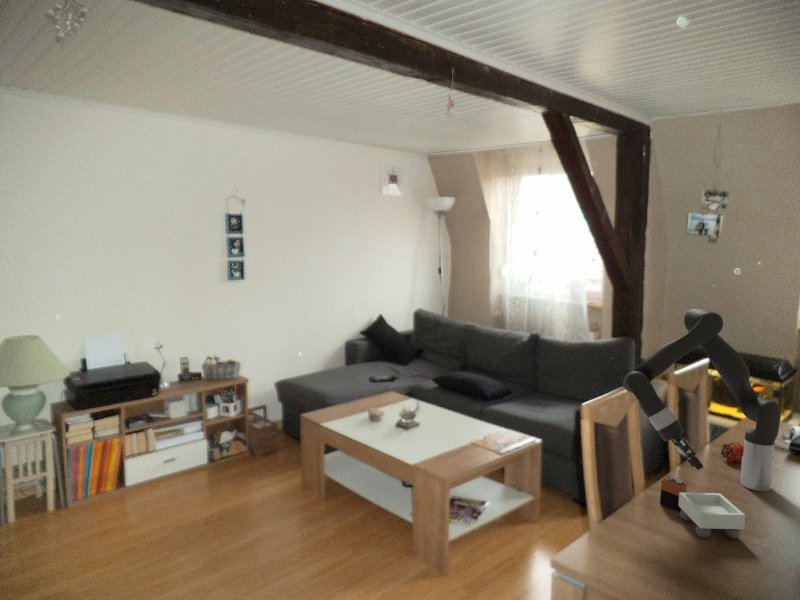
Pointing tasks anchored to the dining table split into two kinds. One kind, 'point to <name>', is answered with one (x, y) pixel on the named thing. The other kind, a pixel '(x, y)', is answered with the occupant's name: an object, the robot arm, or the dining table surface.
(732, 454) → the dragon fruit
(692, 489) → the dining table surface
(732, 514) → the cart
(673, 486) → the battery
